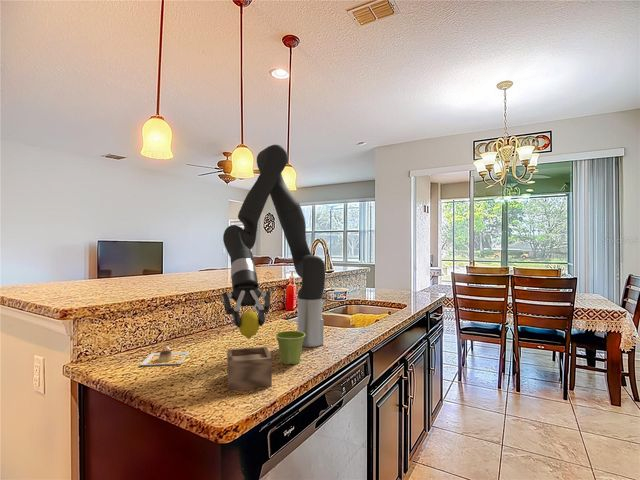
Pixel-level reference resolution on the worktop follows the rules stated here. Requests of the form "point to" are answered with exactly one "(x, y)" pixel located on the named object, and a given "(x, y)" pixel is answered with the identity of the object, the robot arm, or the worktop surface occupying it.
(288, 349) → the plant pot
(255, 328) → the lemon
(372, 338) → the worktop surface
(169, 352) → the white square frame
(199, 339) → the worktop surface
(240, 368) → the wooden box
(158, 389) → the worktop surface
